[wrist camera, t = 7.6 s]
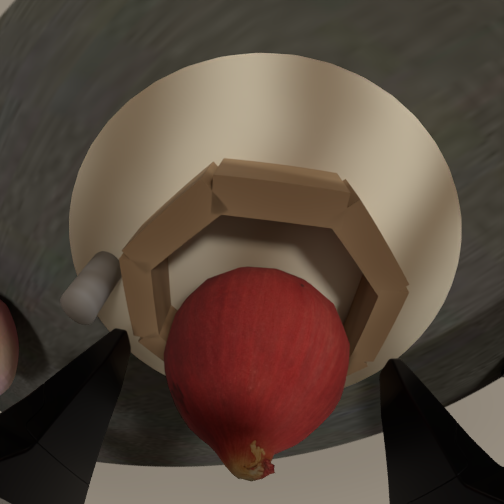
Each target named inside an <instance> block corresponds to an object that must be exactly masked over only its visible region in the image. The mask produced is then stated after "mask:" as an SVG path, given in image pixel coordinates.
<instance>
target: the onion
mask: <svg viewBox="0 0 504 504" xmlns="http://www.w3.org/2000/svg"><path fill="white" fill-rule="evenodd" d="M349 349H350V343H349V341H348V338H347V335H346V332H345V329H344V327H343V324H342V322H341V319H340V317H339V315H338V312H337V310H336V308H335V305H334V304H333V303H332V302H331V301H330V300H329V299H328V298H326V297H325V296H324V295H323V294H322V293H321V292H319V291H318V290H317V289H316V288H315V287H314V286H312V285H311V284H310V283H309V282H307V281H306V280H304V279H302V278H300V277H297V276H295V275H292V274H290V273H287V272H284V271H282V270H279V269H277V268H263V267H249V266H247V267H239V268H236V269H233V270H231V271H228V272H225V273H222V274H219V275H217V276H214V277H211V278H208V279H206V280H205V281H204V282H203V283H202V284H201V285H200V286H199V287H198V288H197V289H196V290H195V291H193V292H192V293H191V294H190V295H189V296H188V297H187V298H186V300H185V301H184V302H183V304H182V305H181V307H180V308H179V309H178V311H177V312H176V314H175V317H174V320H173V323H172V326H171V329H170V332H169V335H168V338H167V342H166V346H165V350H164V369H165V375H166V379H167V382H168V386H169V389H170V392H171V395H172V398H173V401H174V403H175V406H176V408H177V410H178V411H179V413H180V415H181V417H182V418H183V420H184V421H185V423H186V424H187V426H188V427H189V428H190V429H191V430H192V431H193V432H194V433H195V434H196V435H197V436H198V437H199V438H200V439H202V440H203V441H204V442H205V443H206V444H208V445H209V446H210V447H211V448H212V449H213V450H214V451H215V452H216V453H217V455H218V456H219V458H220V459H221V460H222V462H223V463H224V465H225V466H226V467H227V468H228V470H229V471H230V472H231V473H232V474H233V475H234V476H236V477H237V478H238V479H245V480H248V481H255V480H258V479H263V478H264V477H266V476H268V475H269V474H272V473H275V472H274V465H273V464H271V461H272V458H273V455H274V454H277V453H279V452H281V451H284V450H286V449H288V448H290V447H293V446H295V445H296V444H298V443H299V442H301V441H303V440H304V439H305V438H306V437H308V436H309V435H310V434H311V433H312V432H313V431H314V430H315V429H316V428H317V427H319V426H320V425H321V424H322V423H323V422H324V421H325V420H326V419H327V417H328V416H329V415H330V414H331V413H332V412H333V410H334V409H335V407H336V405H337V404H338V402H339V400H340V399H341V395H342V392H343V389H344V386H345V382H346V376H347V371H348V365H349Z"/></svg>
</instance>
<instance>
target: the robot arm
mask: <svg viewBox="0 0 504 504" xmlns="http://www.w3.org/2000/svg"><path fill="white" fill-rule="evenodd" d="M130 352H131V345H130V341H129V337H128V333H127V331H126V330H123V329H119V328H115V329H113V330H112V331H111V332H109V333H108V334H107V335H105V336H104V337H103V338H101V339H100V340H99V341H97V342H96V343H95V344H93V345H92V346H91V347H90V348H88V349H87V350H86V351H84V352H83V353H82V354H81V355H79V356H78V357H77V358H75V359H74V360H73V361H71V362H70V363H69V364H68V365H66V366H65V367H64V368H62V369H61V370H60V371H59V372H57V373H56V374H55V375H54V376H52V377H51V378H50V379H48V380H47V381H46V382H45V383H44V384H42V385H41V386H39V387H38V388H37V389H36V390H34V391H33V392H32V393H30V394H29V395H28V396H26V397H25V398H23V399H22V400H20V401H19V402H17V403H16V404H14V405H13V406H11V407H10V408H8V409H6V410H5V411H3V412H2V413H0V504H84V502H85V499H86V495H87V491H88V488H89V484H90V481H91V477H92V474H93V471H94V467H95V464H96V461H97V458H98V455H99V452H100V448H101V445H102V442H103V439H104V436H105V433H106V430H107V428H108V425H109V422H110V419H111V416H112V413H113V410H114V408H115V405H116V402H117V399H118V397H119V394H120V391H121V388H122V384H123V380H124V376H125V372H126V368H127V364H128V360H129V356H130ZM501 375H502V377H504V369H503V370H502V371H501ZM380 400H381V418H382V426H383V434H384V442H385V450H386V461H387V472H388V484H389V498H390V504H504V467H502V466H500V465H499V464H497V463H496V462H495V461H494V460H493V459H492V458H490V456H489V455H488V454H487V453H486V452H485V451H484V450H483V449H482V448H481V447H480V446H478V445H477V444H476V442H474V440H473V439H472V438H471V437H470V436H469V435H468V434H467V433H466V432H465V431H464V430H463V428H462V427H461V426H460V425H459V424H458V423H457V422H456V420H455V419H454V418H453V417H452V416H451V415H450V413H449V412H448V411H447V410H446V409H445V408H444V407H443V405H442V404H441V403H440V402H439V401H438V400H437V399H436V397H435V396H434V395H433V394H432V393H431V392H430V391H429V390H428V388H427V387H426V386H425V385H424V384H423V383H422V382H421V381H420V379H419V378H418V377H417V376H416V375H415V374H414V373H413V372H412V371H411V370H410V368H409V367H408V366H407V365H406V364H405V363H404V362H403V361H402V360H401V359H399V358H391V359H389V360H388V361H387V363H386V365H385V366H384V368H383V369H382V371H381V373H380Z"/></svg>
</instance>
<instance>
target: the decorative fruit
mask: <svg viewBox="0 0 504 504" xmlns="http://www.w3.org/2000/svg"><path fill="white" fill-rule="evenodd" d="M18 356H19V342H18V335H17V330H16V326H15V323H14V320H13V318H12V315H11V313H10V311H9V308H8V307H7V305H6V304H5V303H4V302H3V301H2V300H0V395H1V394H2V393H4V392H5V391H6V390H7V389H8V388H9V387H10V386H11V384H12V382H13V379H14V377H15V374H16V369H17V364H18Z"/></svg>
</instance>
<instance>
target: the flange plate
mask: <svg viewBox="0 0 504 504" xmlns="http://www.w3.org/2000/svg"><path fill="white" fill-rule="evenodd" d="M69 237H70V246H71V252H72V258H73V262H74V266H75V269H76V272H77V277H76V278H75V280H74V281H73V282H72V283H71V285H70V286H69V287H68V288H67V290H66V291H65V292H64V294H63V295H62V296H61V299H60V303H61V306H62V308H63V310H64V312H65V313H66V314H67V315H68V316H69V317H70V318H71V319H72V320H74V321H75V322H77V323H79V324H83V325H89V324H91V323H93V321H94V320H95V318H96V316H98V317H99V319H100V320H101V321H102V322H103V324H104V325H105V326H106V328H107V329H108V330H109V331H110V332H111V331H112V330H113V329H115V328H119V329H123V330H126V331H127V333H128V337H129V341H130V345H131V353H132V354H134V355H135V356H136V357H137V358H138V359H140V360H141V361H143V362H144V363H146V364H147V365H148V366H150V367H151V368H153V369H154V370H156V371H158V372H160V373H162V374H163V375H165V369H164V350H165V346H166V342H167V338H168V335H169V332H170V329H171V326H172V323H173V320H174V317H175V314H176V312H177V311H178V309H179V308H180V307H181V305H182V304H183V302H184V301H185V300H186V298H187V297H188V296H189V295H190V294H191V293H192V292H193V291H195V290H196V289H197V288H198V287H199V286H200V285H201V284H202V283H203V282H204V281H205V280H206V279H208V278H211V277H214V276H217V275H219V274H222V273H225V272H228V271H231V270H233V269H236V268H239V267H247V266H249V267H263V268H277V269H279V270H282V271H284V272H287V273H290V274H292V275H295V276H297V277H300V278H302V279H304V280H306V281H307V282H309V283H310V284H311V285H312V286H314V287H315V288H316V289H317V290H318V291H319V292H321V293H322V294H323V295H324V296H325V297H326V298H328V299H329V300H330V301H331V302H332V303H333V304H334V305H335V308H336V310H337V312H338V315H339V317H340V319H341V322H342V324H343V327H344V329H345V332H346V335H347V338H348V341H349V343H350V349H349V365H348V371H347V376H346V382H345V386H344V388H345V387H347V386H350V385H352V384H355V383H357V382H359V381H361V380H363V379H365V378H367V377H369V376H371V375H373V374H375V373H376V372H378V371H379V370H381V369H382V368H384V366H385V365H386V363H387V361H388V360H389V359H391V358H398V357H399V356H400V355H402V354H403V353H404V352H405V351H406V350H407V349H408V348H409V347H410V346H411V345H412V344H413V343H414V342H415V341H416V340H417V339H418V338H419V337H420V336H421V335H422V334H423V333H424V331H425V330H426V329H427V328H428V326H429V325H430V324H431V322H432V321H433V320H434V318H435V316H436V315H437V313H438V312H439V310H440V308H441V307H442V305H443V303H444V301H445V299H446V297H447V294H448V292H449V290H450V288H451V285H452V282H453V279H454V276H455V272H456V269H457V265H458V261H459V254H460V247H461V213H460V207H459V201H458V195H457V191H456V188H455V185H454V182H453V178H452V176H451V173H450V170H449V167H448V165H447V163H446V161H445V159H444V157H443V156H442V154H441V152H440V150H439V148H438V146H437V144H436V143H435V141H434V140H433V139H432V137H431V136H430V135H429V133H428V132H427V131H426V129H425V128H424V127H423V125H422V124H421V123H420V122H419V120H418V119H417V118H416V117H415V116H414V115H413V114H412V113H411V112H410V111H409V110H408V109H406V108H405V107H404V106H403V105H402V104H401V103H400V102H399V101H398V100H397V99H396V98H394V97H393V96H392V95H390V94H389V93H387V92H386V91H384V90H383V89H381V88H380V87H378V86H377V85H375V84H374V83H372V82H370V81H369V80H367V79H366V78H364V77H361V76H359V75H357V74H355V73H353V72H350V71H348V70H346V69H343V68H341V67H338V66H336V65H333V64H331V63H327V62H323V61H319V60H315V59H310V58H306V57H302V56H297V55H287V54H272V53H251V54H241V55H232V56H224V57H219V58H215V59H211V60H208V61H204V62H201V63H197V64H194V65H191V66H188V67H185V68H183V69H181V70H179V71H176V72H174V73H172V74H170V75H168V76H166V77H164V78H162V79H160V80H158V81H156V82H154V83H153V84H152V85H150V86H149V87H147V88H146V89H144V90H143V91H142V92H140V93H139V94H137V95H136V96H135V97H133V98H132V99H131V100H129V101H128V102H127V103H126V104H125V105H124V106H123V107H122V108H121V109H120V110H119V111H118V112H117V113H116V114H115V115H114V116H113V117H112V118H111V119H110V120H109V121H108V122H107V124H106V125H105V126H104V128H103V129H102V131H101V132H100V133H99V135H98V136H97V138H96V139H95V141H94V142H93V143H92V145H91V147H90V149H89V151H88V153H87V155H86V157H85V159H84V161H83V163H82V165H81V167H80V169H79V173H78V176H77V179H76V182H75V186H74V189H73V193H72V199H71V206H70V214H69ZM165 376H166V375H165Z"/></svg>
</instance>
